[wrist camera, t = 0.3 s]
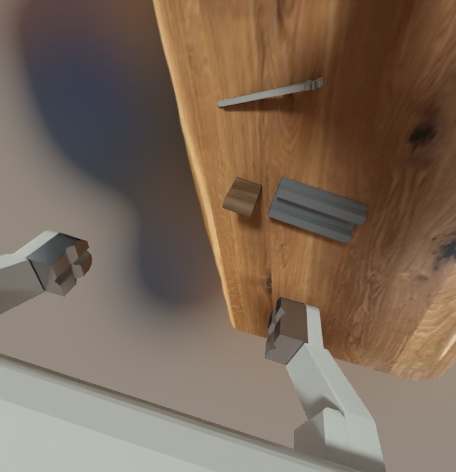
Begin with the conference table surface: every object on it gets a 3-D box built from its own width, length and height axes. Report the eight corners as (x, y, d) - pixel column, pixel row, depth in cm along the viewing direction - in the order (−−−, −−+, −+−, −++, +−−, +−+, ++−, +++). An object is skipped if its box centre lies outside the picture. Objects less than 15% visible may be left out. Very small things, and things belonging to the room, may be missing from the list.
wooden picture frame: (237, 177, 59) (224, 198, 50) (261, 185, 58) (253, 208, 50) (234, 186, 60) (222, 208, 52) (258, 194, 60) (249, 218, 52)
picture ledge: (282, 176, 55) (280, 184, 52) (366, 204, 54) (369, 214, 51) (268, 210, 62) (266, 219, 59) (343, 236, 60) (344, 246, 57)
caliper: (322, 75, 43) (323, 79, 38) (322, 83, 43) (323, 87, 38) (217, 101, 50) (207, 106, 45) (218, 107, 50) (208, 113, 46)
